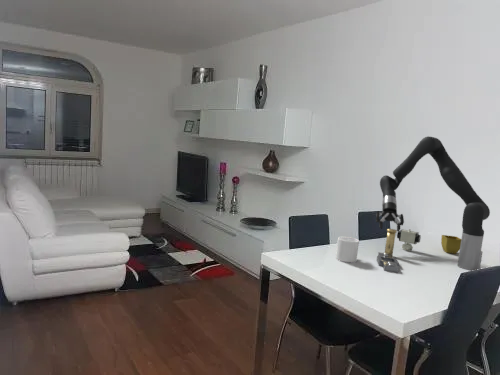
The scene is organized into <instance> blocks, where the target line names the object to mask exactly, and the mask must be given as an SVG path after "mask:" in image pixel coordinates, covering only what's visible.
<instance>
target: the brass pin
mask: <svg viewBox="0 0 500 375" xmlns="http://www.w3.org/2000/svg"><path fill="white" fill-rule="evenodd" d="M386 232H387V233H386V241H385V247H384V253H387V254H391V256H392V257H393V255H394V248H395V240H396V234H397V233H398V231H397V229H394V228H387V229H386Z"/></svg>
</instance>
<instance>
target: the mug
mask: <svg viewBox="0 0 500 375" xmlns="http://www.w3.org/2000/svg"><path fill="white" fill-rule="evenodd" d="M359 243H360V240H359V239H357V238H355V237H350V236H338V238H337V242H336V253H335V259H336V260H337V259H338V260H337V261H339V260H340V261H339V262H342V261H343V262H342V263H347V262H351V263H350V264H354V263H356V262H357V260H358V251H359ZM353 262H354V263H353Z"/></svg>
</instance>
